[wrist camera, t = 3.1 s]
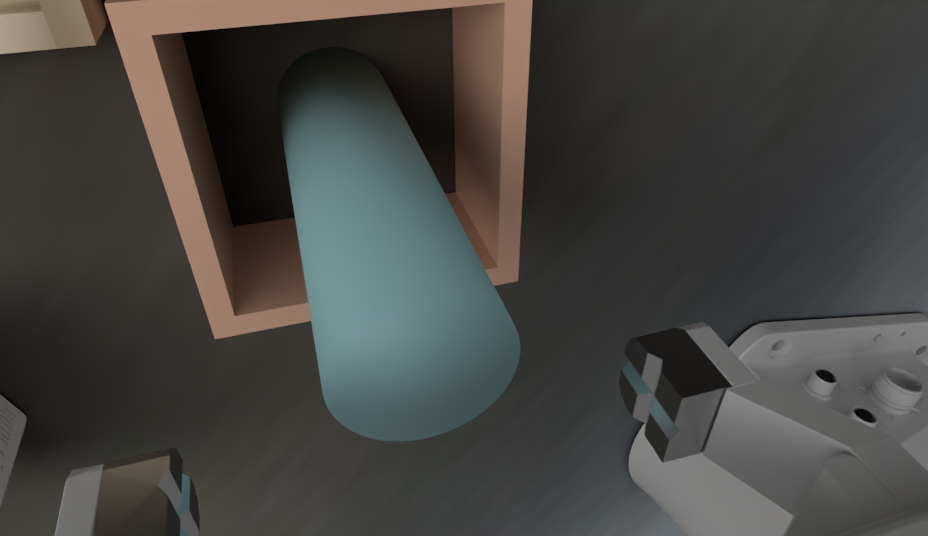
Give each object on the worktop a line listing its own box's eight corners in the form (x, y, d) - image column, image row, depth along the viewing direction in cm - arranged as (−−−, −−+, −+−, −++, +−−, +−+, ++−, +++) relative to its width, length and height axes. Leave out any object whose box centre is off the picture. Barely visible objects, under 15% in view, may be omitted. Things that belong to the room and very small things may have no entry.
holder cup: (473, -69, 21) (534, -32, 17) (473, 205, 28) (518, 281, 24) (131, -46, 19) (104, 3, 15) (217, 247, 26) (214, 339, 21)
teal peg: (383, 41, 23) (524, 273, 12) (392, 145, 25) (516, 416, 14) (267, 53, 22) (306, 315, 11) (287, 160, 24) (336, 459, 14)
